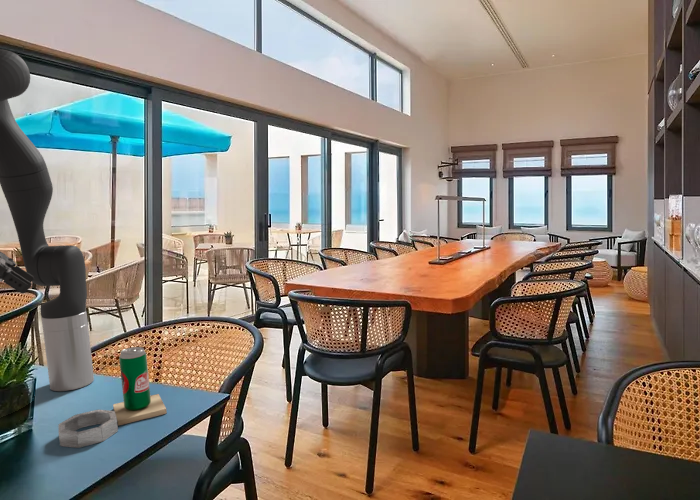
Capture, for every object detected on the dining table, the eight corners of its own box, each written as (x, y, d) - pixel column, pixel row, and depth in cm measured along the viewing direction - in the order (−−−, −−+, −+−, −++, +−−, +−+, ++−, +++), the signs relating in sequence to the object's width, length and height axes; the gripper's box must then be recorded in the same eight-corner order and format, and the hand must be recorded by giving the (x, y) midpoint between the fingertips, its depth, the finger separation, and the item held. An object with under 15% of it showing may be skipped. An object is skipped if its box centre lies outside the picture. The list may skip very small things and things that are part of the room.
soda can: (141, 412, 99) (135, 354, 98) (118, 411, 100) (112, 353, 99) (156, 402, 104) (150, 346, 103) (134, 400, 105) (129, 345, 104)
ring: (59, 431, 95) (58, 418, 95) (114, 417, 100) (113, 405, 99) (60, 452, 87) (58, 439, 87) (119, 437, 92) (118, 424, 91)
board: (113, 408, 104) (113, 404, 104) (158, 398, 108) (158, 393, 108) (118, 425, 96) (117, 420, 96) (166, 413, 101) (166, 408, 101)
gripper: (-51, 211, 78) (44, 274, 85) (-37, 209, 90) (45, 265, 97) (-90, 248, 76) (10, 309, 83) (-70, 241, 88) (16, 295, 95)
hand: (29, 285), depth 90 cm, fingers open, 8 cm apart
